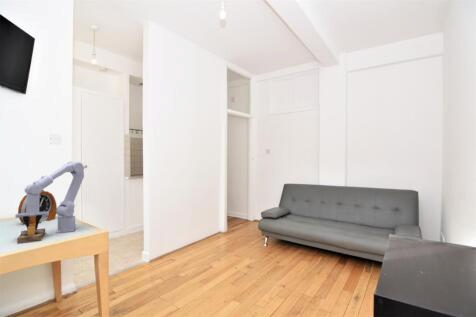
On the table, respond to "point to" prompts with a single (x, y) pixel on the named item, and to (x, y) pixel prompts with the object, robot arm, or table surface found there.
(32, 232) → the orange upright block
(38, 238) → the shelf
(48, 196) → the alarm clock
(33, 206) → the robot arm
